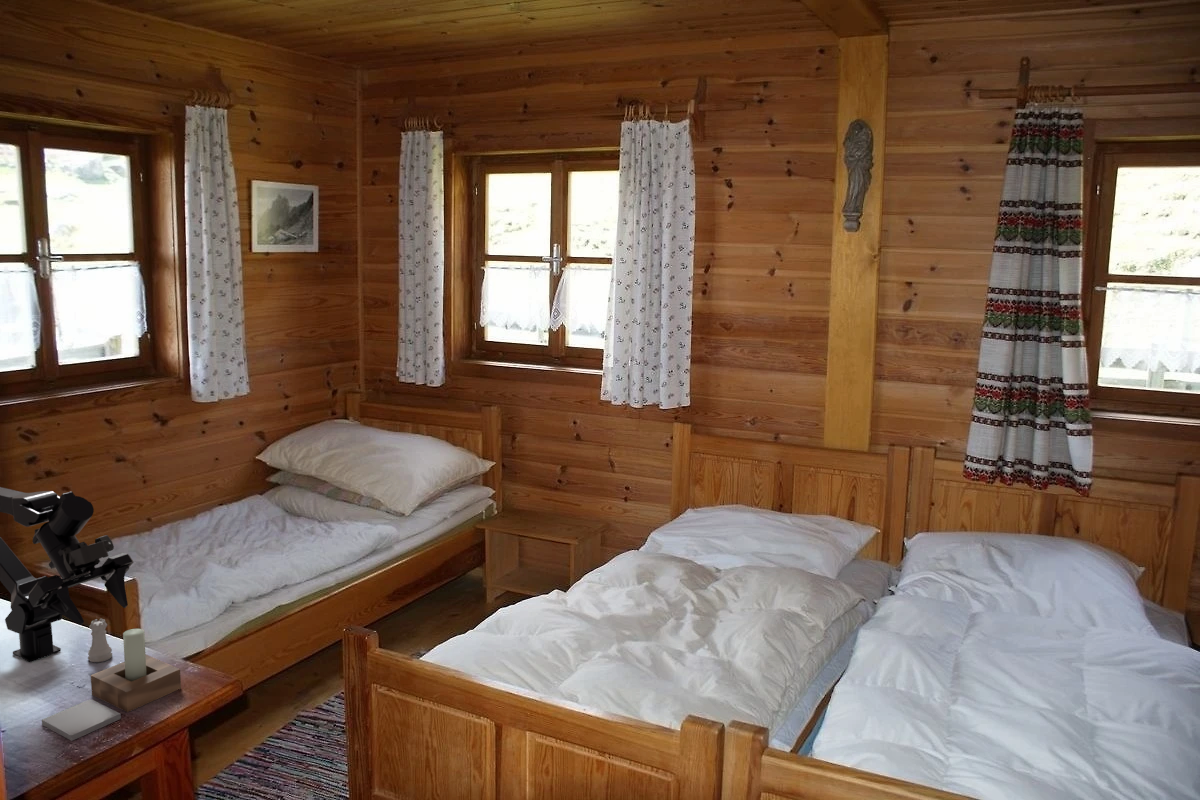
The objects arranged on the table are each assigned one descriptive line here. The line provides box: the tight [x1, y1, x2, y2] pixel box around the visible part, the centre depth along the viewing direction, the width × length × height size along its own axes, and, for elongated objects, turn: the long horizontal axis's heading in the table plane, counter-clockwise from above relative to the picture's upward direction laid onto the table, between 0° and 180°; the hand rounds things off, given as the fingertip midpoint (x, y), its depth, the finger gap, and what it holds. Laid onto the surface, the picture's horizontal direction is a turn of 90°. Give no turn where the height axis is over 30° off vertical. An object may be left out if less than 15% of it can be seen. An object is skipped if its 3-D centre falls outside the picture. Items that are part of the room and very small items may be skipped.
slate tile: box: [41, 698, 122, 742], centre depth 171 cm, size 9×9×1 cm
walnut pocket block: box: [90, 654, 182, 713], centre depth 182 cm, size 11×11×4 cm
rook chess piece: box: [87, 618, 113, 664], centre depth 194 cm, size 4×4×8 cm
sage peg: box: [122, 628, 147, 682], centre depth 182 cm, size 4×4×12 cm
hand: (104, 615), depth 184 cm, fingers open, 9 cm apart
